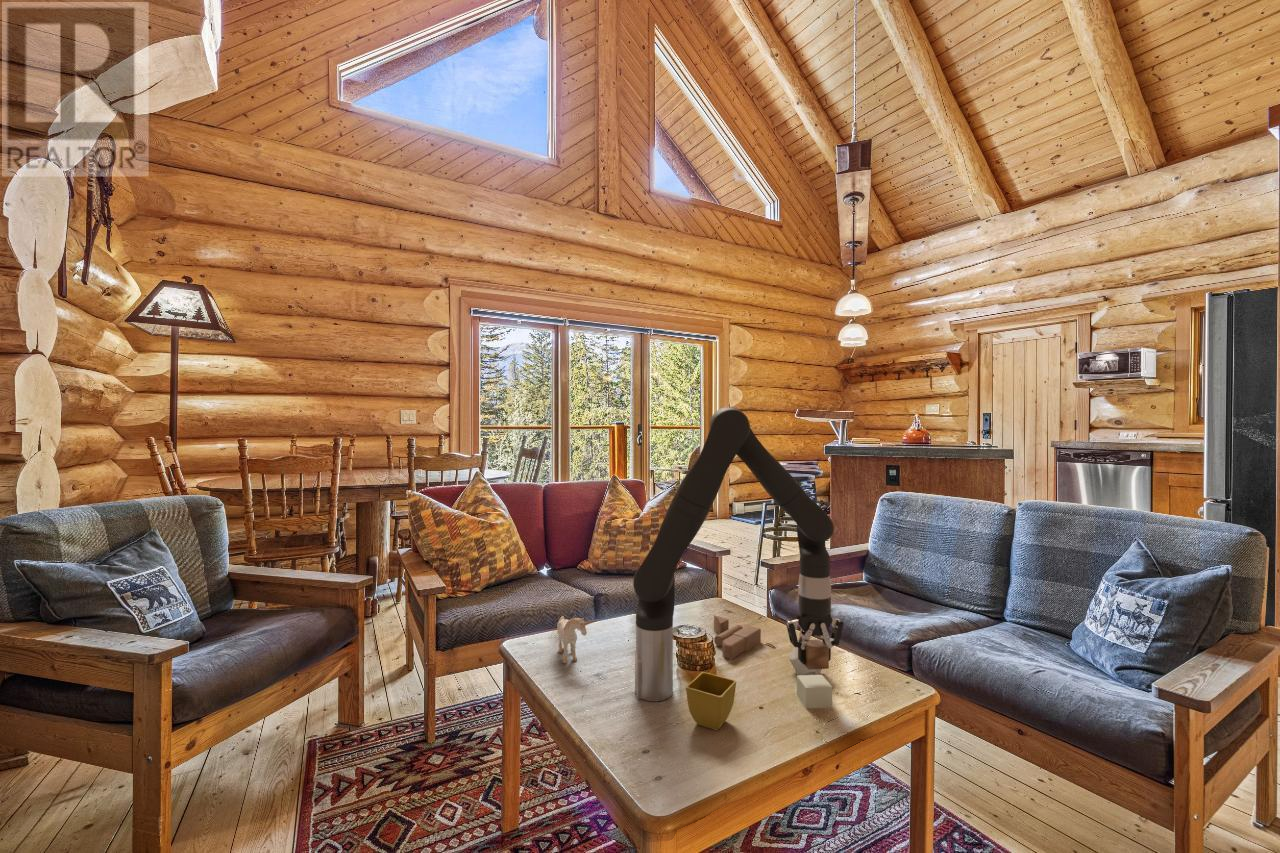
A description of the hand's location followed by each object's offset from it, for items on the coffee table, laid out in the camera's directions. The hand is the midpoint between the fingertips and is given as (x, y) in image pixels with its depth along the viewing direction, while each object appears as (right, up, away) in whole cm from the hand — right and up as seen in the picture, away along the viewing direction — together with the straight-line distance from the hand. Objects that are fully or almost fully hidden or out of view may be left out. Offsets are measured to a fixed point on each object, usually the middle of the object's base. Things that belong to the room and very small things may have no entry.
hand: (814, 662), depth 137 cm
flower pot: (-26, -10, -9) cm, 30 cm away
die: (+3, -9, +15) cm, 18 cm away
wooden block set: (-17, -9, +35) cm, 40 cm away
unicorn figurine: (-60, -9, +25) cm, 66 cm away
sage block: (0, -10, 0) cm, 10 cm away
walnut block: (0, 0, 0) cm, 0 cm away
